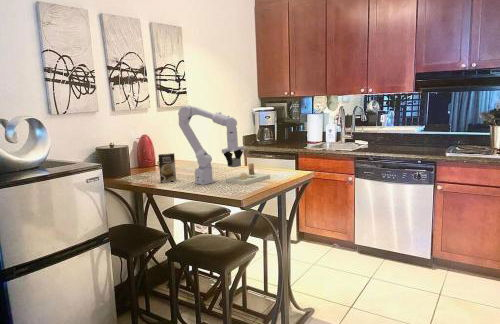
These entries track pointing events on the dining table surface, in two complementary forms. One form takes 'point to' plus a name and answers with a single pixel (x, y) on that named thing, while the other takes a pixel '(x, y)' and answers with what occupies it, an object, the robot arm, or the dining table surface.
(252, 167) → the pin
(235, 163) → the grey chamfered cube
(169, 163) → the coffee box
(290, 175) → the dining table surface
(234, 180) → the pin board
